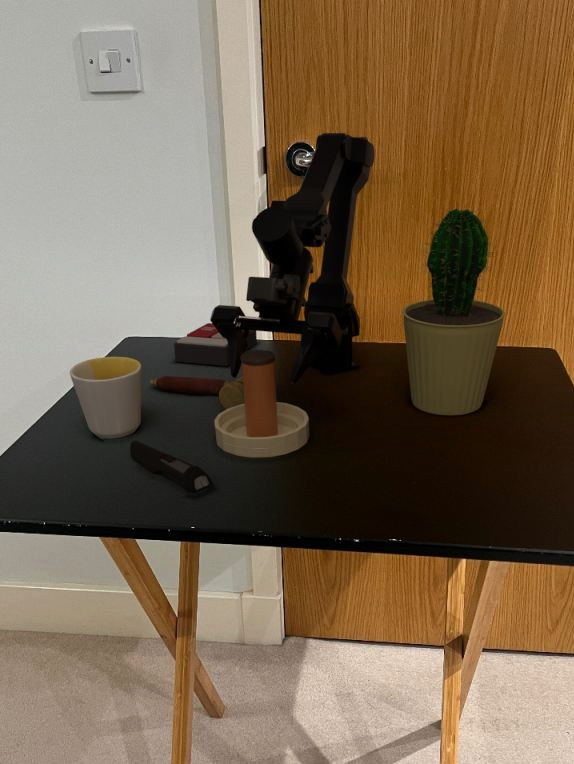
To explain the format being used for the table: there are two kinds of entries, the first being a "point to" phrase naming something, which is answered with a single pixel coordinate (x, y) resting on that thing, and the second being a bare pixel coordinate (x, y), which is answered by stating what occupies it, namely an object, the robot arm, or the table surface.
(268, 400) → the copper tin
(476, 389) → the potted cactus
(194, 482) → the electric trimmer
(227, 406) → the gavel
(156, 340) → the table surface
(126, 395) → the mug
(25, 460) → the table surface
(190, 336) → the gray and red box
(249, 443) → the bowl
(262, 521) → the table surface
